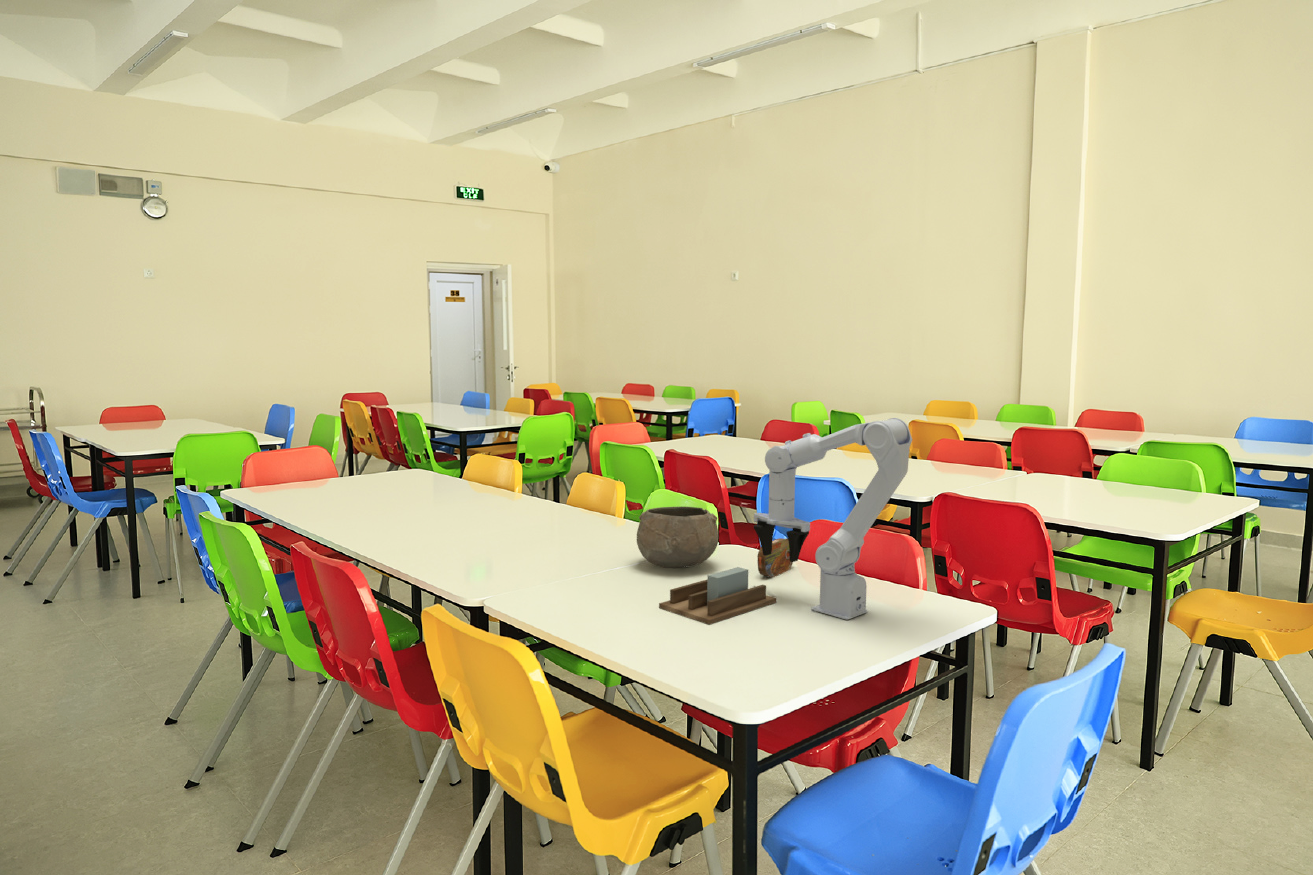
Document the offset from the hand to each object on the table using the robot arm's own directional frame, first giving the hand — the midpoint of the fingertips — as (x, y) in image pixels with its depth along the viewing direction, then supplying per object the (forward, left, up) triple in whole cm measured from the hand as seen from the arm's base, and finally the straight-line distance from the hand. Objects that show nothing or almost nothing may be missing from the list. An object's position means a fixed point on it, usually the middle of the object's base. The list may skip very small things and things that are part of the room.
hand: (780, 557), depth 192 cm
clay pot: (+35, -2, -10) cm, 36 cm away
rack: (+6, +14, -9) cm, 18 cm away
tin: (+14, -16, -10) cm, 23 cm away
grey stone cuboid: (+3, +14, -8) cm, 17 cm away
